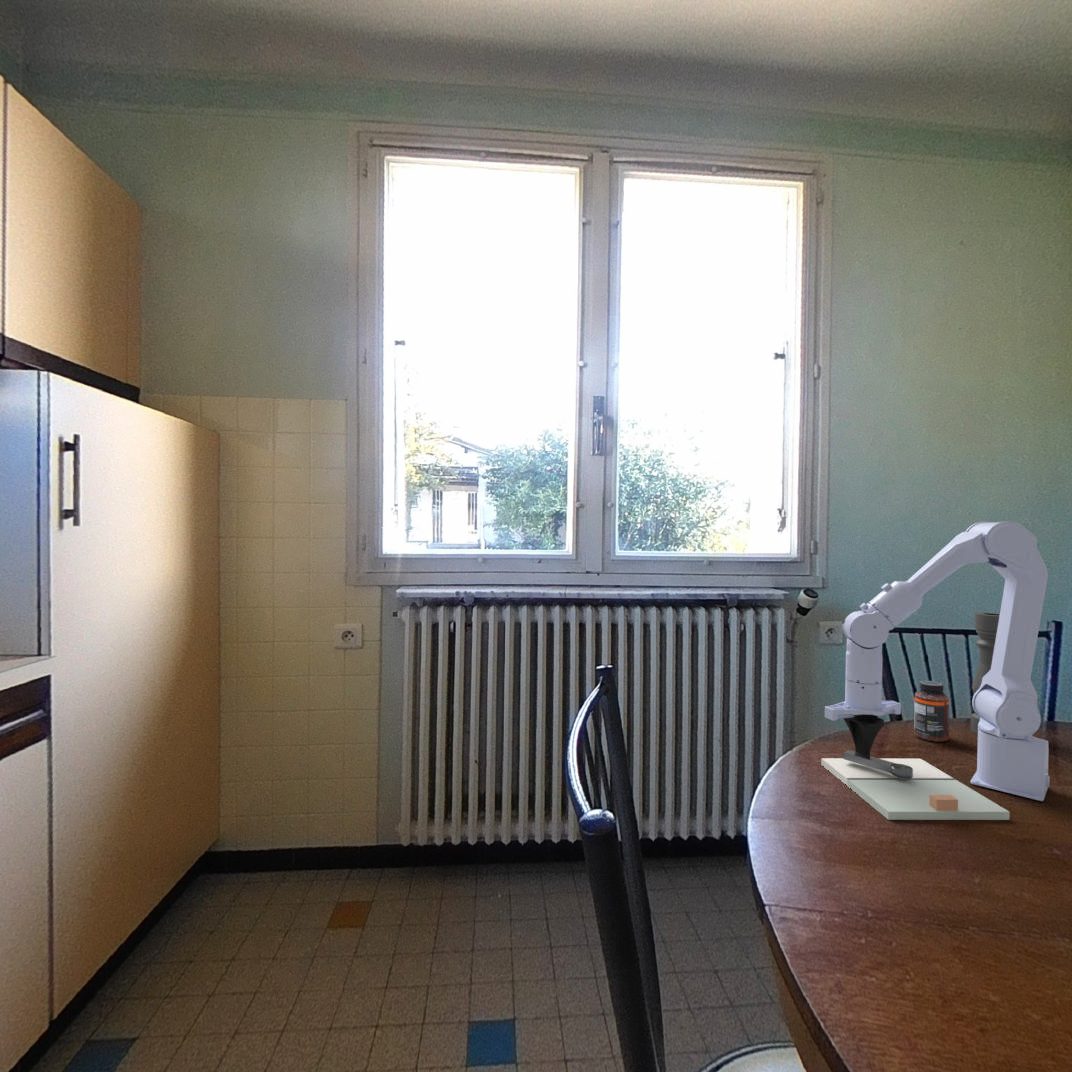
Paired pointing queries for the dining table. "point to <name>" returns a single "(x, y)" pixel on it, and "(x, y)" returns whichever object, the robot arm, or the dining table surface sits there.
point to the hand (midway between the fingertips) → (862, 756)
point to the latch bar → (879, 764)
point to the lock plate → (915, 792)
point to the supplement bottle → (931, 712)
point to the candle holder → (983, 652)
